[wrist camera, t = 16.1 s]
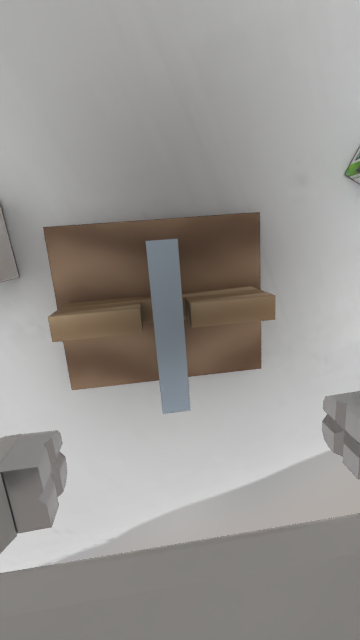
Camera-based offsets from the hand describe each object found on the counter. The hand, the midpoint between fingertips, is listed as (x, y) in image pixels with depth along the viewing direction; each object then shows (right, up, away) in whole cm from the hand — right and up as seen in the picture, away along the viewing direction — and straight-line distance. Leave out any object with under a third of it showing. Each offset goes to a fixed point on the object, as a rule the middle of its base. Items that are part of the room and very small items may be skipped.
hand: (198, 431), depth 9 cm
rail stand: (-2, +5, +22) cm, 23 cm away
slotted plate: (-2, +5, +21) cm, 22 cm away
